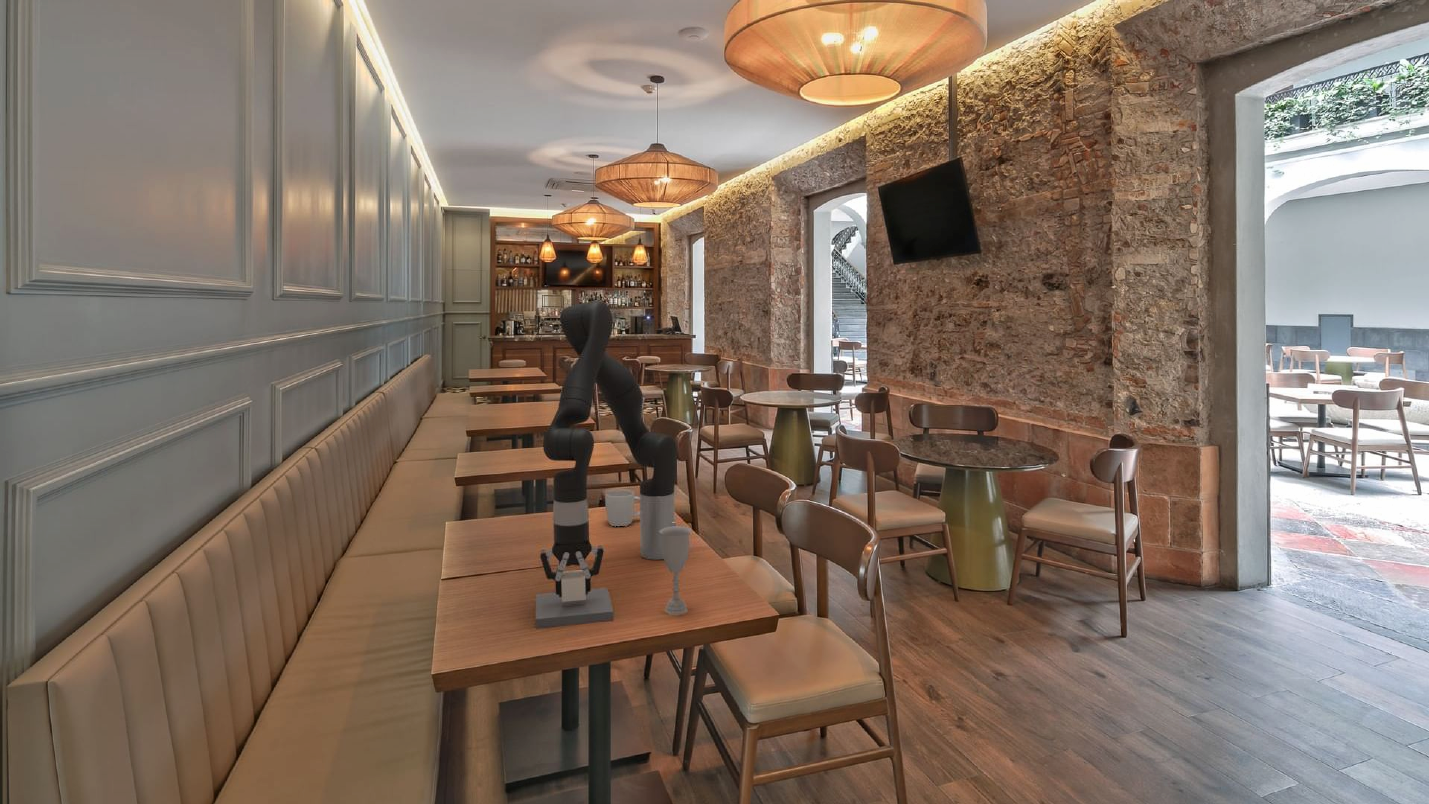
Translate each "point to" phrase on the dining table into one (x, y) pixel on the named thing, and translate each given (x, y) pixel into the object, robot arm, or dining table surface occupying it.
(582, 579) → the cube
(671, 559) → the chalice
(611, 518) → the mug
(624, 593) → the dining table surface
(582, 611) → the slate board
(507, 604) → the dining table surface
